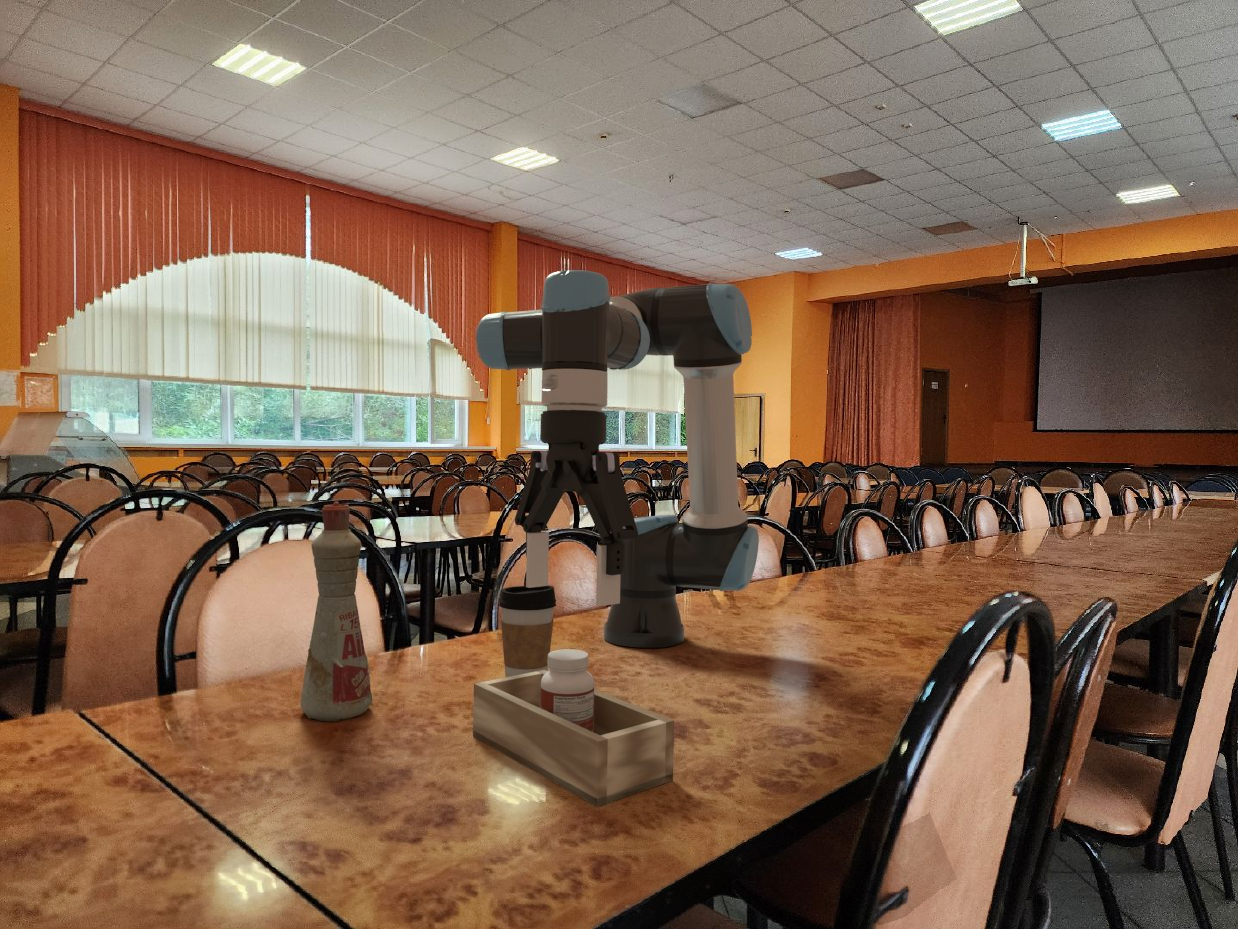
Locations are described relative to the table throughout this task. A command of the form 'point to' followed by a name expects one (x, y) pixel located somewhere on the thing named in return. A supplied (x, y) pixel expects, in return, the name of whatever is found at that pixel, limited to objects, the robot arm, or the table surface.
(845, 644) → the table surface
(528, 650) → the coffee cup
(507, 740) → the wooden box
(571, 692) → the pill bottle
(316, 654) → the bottle
